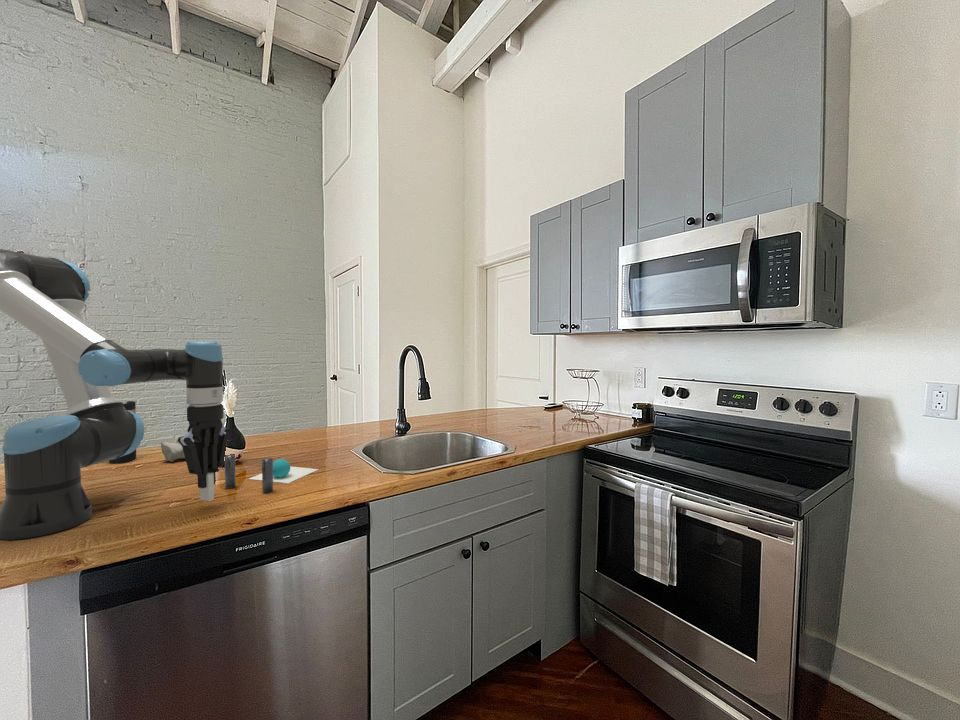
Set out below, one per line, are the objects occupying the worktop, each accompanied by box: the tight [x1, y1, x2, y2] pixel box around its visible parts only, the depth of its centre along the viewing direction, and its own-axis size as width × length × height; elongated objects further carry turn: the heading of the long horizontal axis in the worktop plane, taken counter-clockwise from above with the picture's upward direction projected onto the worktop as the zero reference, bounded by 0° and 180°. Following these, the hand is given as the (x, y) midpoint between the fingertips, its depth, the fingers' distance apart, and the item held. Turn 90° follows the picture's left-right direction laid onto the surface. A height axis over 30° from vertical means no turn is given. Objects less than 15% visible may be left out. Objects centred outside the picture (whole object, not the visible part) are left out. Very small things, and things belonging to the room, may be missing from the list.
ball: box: [273, 458, 291, 478], centre depth 128 cm, size 6×6×6 cm
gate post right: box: [261, 457, 274, 494], centre depth 115 cm, size 3×3×9 cm
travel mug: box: [108, 400, 137, 465], centre depth 144 cm, size 8×8×20 cm
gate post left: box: [224, 454, 237, 490], centre depth 119 cm, size 3×3×9 cm
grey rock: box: [160, 435, 194, 463], centre depth 148 cm, size 11×9×15 cm
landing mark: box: [248, 465, 319, 485], centre depth 131 cm, size 14×14×1 cm
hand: (207, 499), depth 105 cm, fingers closed
